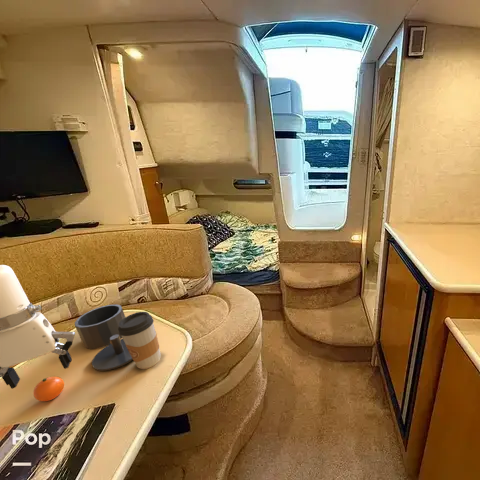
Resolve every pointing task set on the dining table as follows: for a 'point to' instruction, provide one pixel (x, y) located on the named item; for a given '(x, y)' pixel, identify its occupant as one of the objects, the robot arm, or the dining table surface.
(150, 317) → the coffee cup
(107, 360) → the lid
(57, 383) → the orange
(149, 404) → the dining table surface
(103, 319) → the pot
